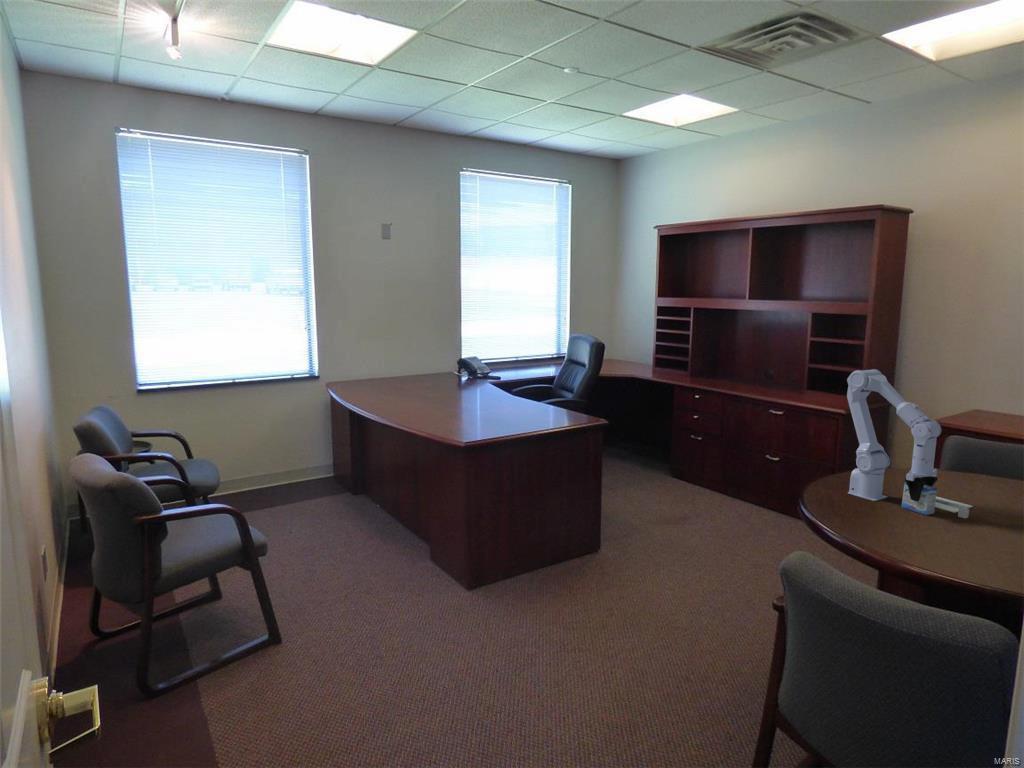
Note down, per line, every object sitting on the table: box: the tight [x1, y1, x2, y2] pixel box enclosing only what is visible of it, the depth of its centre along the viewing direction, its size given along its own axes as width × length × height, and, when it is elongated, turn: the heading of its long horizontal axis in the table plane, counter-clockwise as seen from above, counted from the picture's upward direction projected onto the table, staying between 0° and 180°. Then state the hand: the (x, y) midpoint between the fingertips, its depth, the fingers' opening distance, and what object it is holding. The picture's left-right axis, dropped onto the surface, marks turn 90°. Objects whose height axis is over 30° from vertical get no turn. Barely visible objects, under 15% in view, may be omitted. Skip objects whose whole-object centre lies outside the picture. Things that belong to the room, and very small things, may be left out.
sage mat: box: [935, 495, 974, 514], centre depth 201 cm, size 14×12×1 cm
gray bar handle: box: [957, 509, 970, 519], centre depth 196 cm, size 18×2×2 cm, turn 30°
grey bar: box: [936, 498, 970, 510], centre depth 195 cm, size 18×1×1 cm, turn 30°
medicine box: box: [901, 481, 938, 516], centre depth 194 cm, size 8×4×9 cm, turn 25°
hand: (918, 499), depth 194 cm, fingers closed on medicine box, 5 cm apart
